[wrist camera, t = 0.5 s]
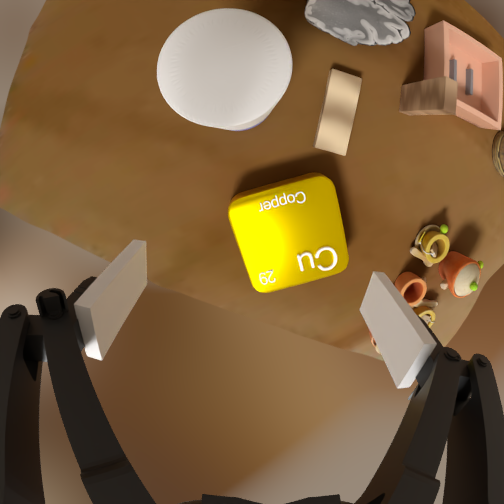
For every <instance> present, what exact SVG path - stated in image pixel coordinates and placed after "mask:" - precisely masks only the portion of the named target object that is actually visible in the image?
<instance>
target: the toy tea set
mask: <svg viewBox="0 0 504 504" xmlns="http://www.w3.org/2000/svg"><path fill="white" fill-rule="evenodd" d="M447 231H448V227H447V225H445V224H443V225H441V226H440V227H439V226H437V225H428V226H426V227H424V228H423V229H422V230H421V231H420V232H419V234H418V235H417V237H416V240H415V247H412V248H411V249H410V252H411V254H412V255H414V256H415V257H417V258H419V259H421V260H423V262H424V264H425V265H426V266H427V267H431V266H432V265H433V263H438V262H440V264H439V269H438V270H439V274H440V276H441V277H442V279H443V281H442V282H441V284H440V285H441V288H442V289H446V288H447V287H448V288H449V289H450V291H451V292H452V294H453V295H454V296H455V297H458V298H462V297H465V296H467V295H469V294H470V293H471V292H472V291H475V290H476V289H477V287H478V285H477V284H478V282H479V279H480V275H481V268H482V267H483V262H482V261H478V262H476V261H475V260H473V259H471V258H469V257H466V256H464V255H462V254H460V253H458V252H456V251H450V252H448V250H449V240H448V238H447V236H446V235H444V234H445V233H447ZM425 282H426V277H422V278H420V277H418V276H417V275H415V274H414V273H412V272H409V271H408V272H404V273H402V274H400V275H399V276H398V278H397V279H396V281H395V285H394V286H395V287H396V288H397V290H398V291H399V292H400V294H401V295H402V296H403V298H404V299H405V300H406V301H407V303H408V304H409V305H410V307H411V308H412V310H413V311H414V312H415V314H416V315H418V316H419V317H421V318H422V319H423V320H424V321H425V322H426V323H427V325H428V326H429V328H430V327H431V325H432V324H433V323H434V322H435V321H434V320H435V313H434V311H432V310H433V307H435V306H437V304H438V303H437V301H435V300H428V299H423V297H424V296H425V294H426V290H427V286H426V283H425ZM368 329H369V328H368ZM369 333H370V337H371V341H372V344H373V346H375V347H376V351H377V352H378V353H380V354H381V352H380V350H379V348H378V346H377V344H376V342H375V340H374V338H373V336H372V334H371V332H370V330H369Z"/></svg>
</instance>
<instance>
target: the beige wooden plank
mask: <svg viewBox="0 0 504 504" xmlns="http://www.w3.org/2000/svg"><path fill="white" fill-rule="evenodd" d="M361 82H362V78H359V77H356V76H353V75H350V74H348V73H345V72H342V71H338V70H335V69H331V70H330V71H329V76H328V81H327V86H326V90H325V95H324V100H323V104H322V109H321V113H320V118H319V122H318V127H317V131H316V135H315V140H314V144H313V147H315V148H319V149H323V150H326V151H330V152H334V153H337V154H340V155H344V156H345V155H346V151H347V147H348V142H349V138H350V134H351V129H352V125H353V120H354V116H355V111H356V107H357V102H358V97H359V92H360V87H361Z"/></svg>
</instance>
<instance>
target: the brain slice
mask: <svg viewBox="0 0 504 504" xmlns="http://www.w3.org/2000/svg"><path fill="white" fill-rule="evenodd" d="M415 14H416V13H415V9H414V7H413V6H412V5H411V4H410V0H307V5H306V7H305V17H306V19H307V21H308V22H309V23H310V24H312V25H313V26H315V27H317V28H318V29H320V30H322V31H324V32H326V33H329V34H331V35H333V36H334V37H336V38H338V39H340V40H342V41H344V42H347V43H349V44H350V45H354V46H356V45H358V44H362V45H370V46H374V45H376V44H378V45H390V44H392V43H395V44H398V43H400V42H402V41H403V40H404V39H407V38H408V37H409V36H410V34H411V32H410V28H409V26H408V25H407V24H406V22H404V21H412V20H413V18H414V16H415Z"/></svg>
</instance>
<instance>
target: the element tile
mask: <svg viewBox="0 0 504 504" xmlns="http://www.w3.org/2000/svg"><path fill="white" fill-rule="evenodd" d="M228 218H229V221H230V224H231V227H232V230H233V233H234V235H235V238H236V241H237V244H238V247H239V250H240V253H241V255H242V258H243V261H244V264H245V267H246V270H247V272H248V275H249V278H250V281H251V284H252V286H253V287H254V288H255V289H256V290H257V291H259V292H261V293H269V292H273V291H277V290H281V289H284V288H288V287H292V286H295V285H299V284H303V283H306V282H310V281H314V280H317V279H321V278H324V277H328V276H331V275H335V274H338V273H340V272H342V271H343V270H345V268H346V267H347V266H348V262H349V256H348V250H347V244H346V238H345V233H344V228H343V223H342V218H341V213H340V208H339V203H338V198H337V194H336V189H335V186H334V184H333V182H332V181H331V180H330V179H329V178H327V177H326V176H324V175H323V174H321V173H317V172H313V173H308V174H304V175H300V176H297V177H293V178H289V179H286V180H282V181H278V182H275V183H271V184H268V185H264V186H261V187H257V188H254V189H251V190H247V191H244V192H241V193H238V194H236V195H235V196H234V197H233V198H232V199H231V201H230V204H229V207H228Z"/></svg>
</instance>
